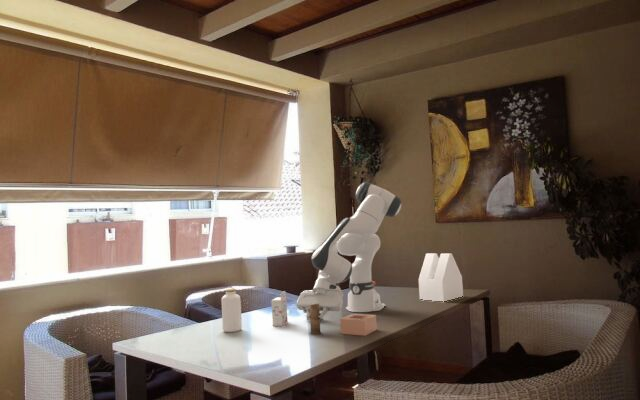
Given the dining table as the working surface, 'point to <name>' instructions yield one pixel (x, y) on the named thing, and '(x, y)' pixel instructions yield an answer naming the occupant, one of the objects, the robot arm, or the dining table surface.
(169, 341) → the dining table surface
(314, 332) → the dowel
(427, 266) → the white notched block
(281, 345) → the dining table surface
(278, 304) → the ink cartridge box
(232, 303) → the potion bottle
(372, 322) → the socket block
